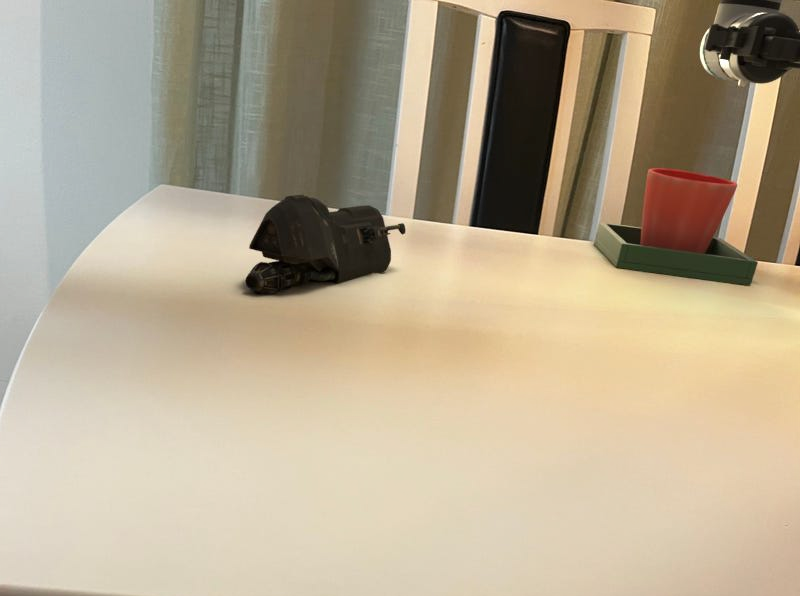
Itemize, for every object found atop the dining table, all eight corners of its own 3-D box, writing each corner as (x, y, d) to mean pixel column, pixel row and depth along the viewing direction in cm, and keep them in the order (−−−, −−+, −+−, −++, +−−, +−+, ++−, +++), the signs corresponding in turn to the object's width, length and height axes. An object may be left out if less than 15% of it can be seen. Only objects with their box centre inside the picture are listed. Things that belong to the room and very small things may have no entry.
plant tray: (714, 260, 137) (720, 238, 135) (750, 285, 123) (758, 262, 121) (593, 243, 137) (599, 221, 135) (615, 267, 123) (622, 243, 121)
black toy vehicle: (399, 277, 106) (412, 194, 102) (284, 307, 86) (294, 205, 82) (342, 264, 108) (353, 182, 104) (216, 290, 89) (224, 191, 84)
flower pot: (724, 271, 125) (751, 186, 120) (638, 260, 124) (661, 175, 119) (699, 254, 134) (723, 175, 129) (618, 244, 133) (639, 164, 128)
